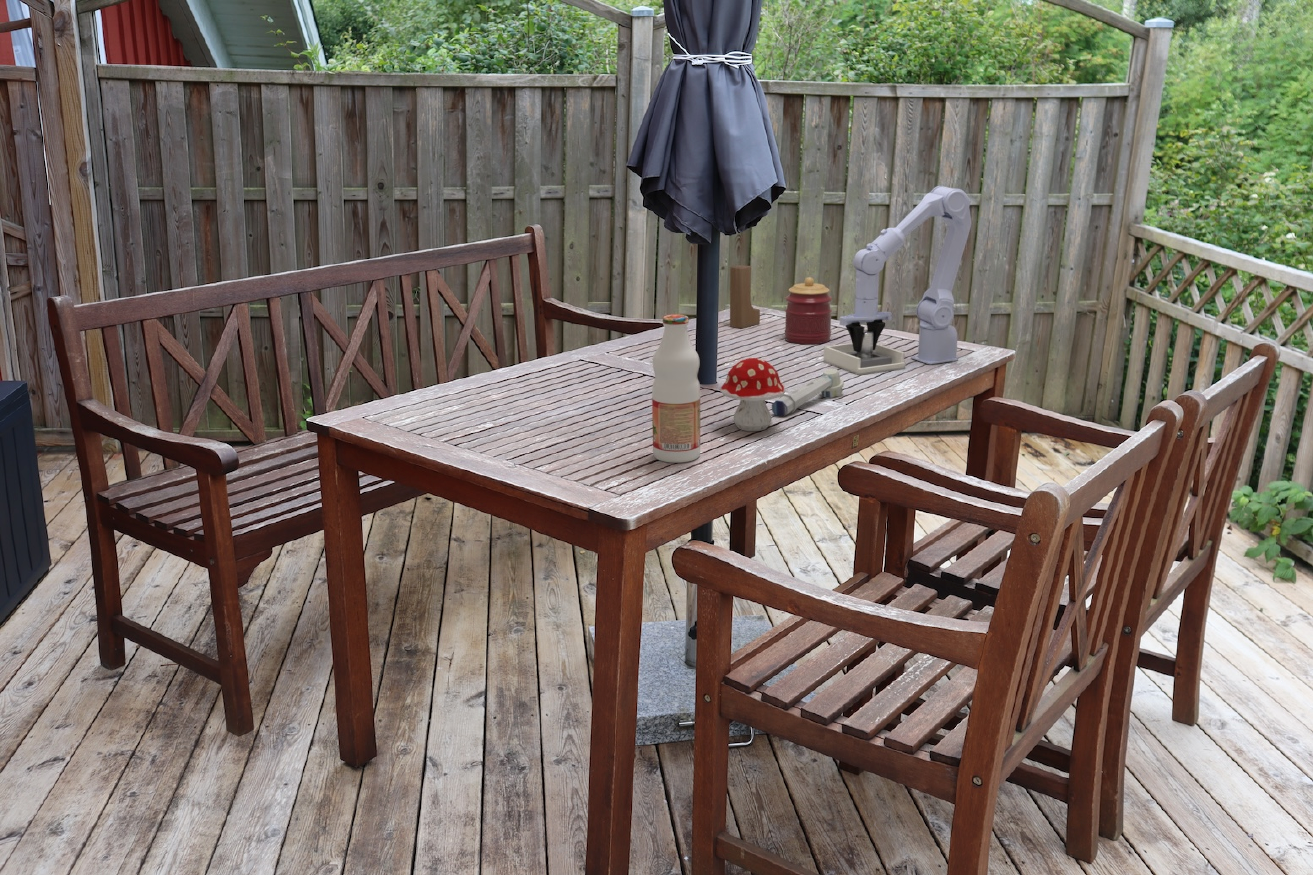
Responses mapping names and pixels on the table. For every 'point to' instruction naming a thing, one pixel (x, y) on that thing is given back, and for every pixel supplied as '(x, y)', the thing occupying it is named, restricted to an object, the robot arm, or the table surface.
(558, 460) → the table surface
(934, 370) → the table surface
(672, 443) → the fruit juice
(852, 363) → the walled box
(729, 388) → the decorative mushroom
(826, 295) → the canister
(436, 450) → the table surface
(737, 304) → the wooden block
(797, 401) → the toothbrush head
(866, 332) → the metal plug
